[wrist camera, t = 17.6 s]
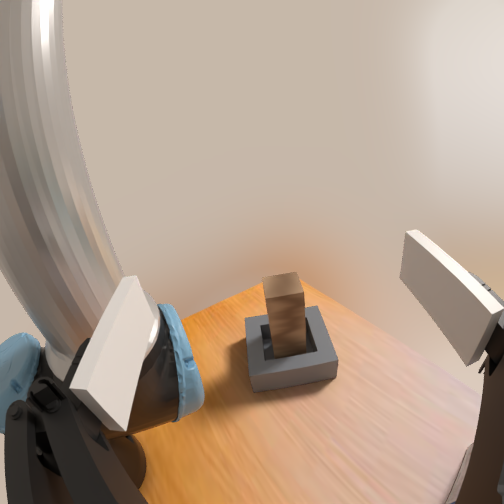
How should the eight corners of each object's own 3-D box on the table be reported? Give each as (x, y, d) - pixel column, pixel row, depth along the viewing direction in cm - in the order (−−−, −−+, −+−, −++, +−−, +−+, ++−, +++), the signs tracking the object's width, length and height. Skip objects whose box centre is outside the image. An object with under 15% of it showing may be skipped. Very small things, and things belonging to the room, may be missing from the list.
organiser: (253, 392, 39) (249, 376, 37) (248, 335, 51) (244, 317, 49) (336, 377, 39) (338, 359, 37) (317, 323, 51) (317, 305, 49)
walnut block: (275, 365, 42) (265, 298, 36) (272, 344, 47) (262, 277, 40) (306, 360, 42) (304, 292, 36) (300, 339, 47) (296, 271, 40)
